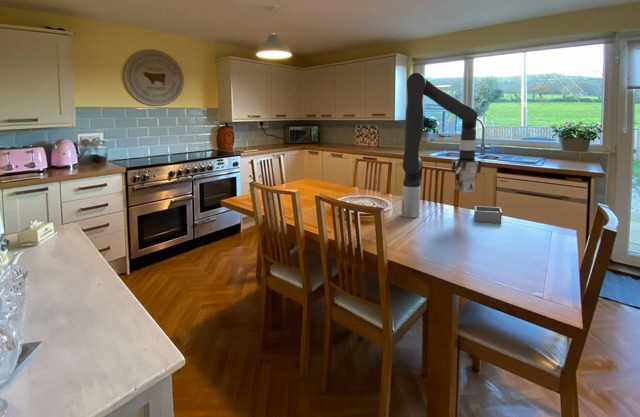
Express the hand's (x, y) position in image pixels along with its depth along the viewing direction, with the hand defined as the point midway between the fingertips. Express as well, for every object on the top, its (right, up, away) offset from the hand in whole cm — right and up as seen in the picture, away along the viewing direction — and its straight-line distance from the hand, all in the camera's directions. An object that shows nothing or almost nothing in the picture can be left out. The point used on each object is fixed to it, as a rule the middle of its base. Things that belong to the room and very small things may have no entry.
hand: (465, 180), depth 199 cm
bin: (+13, -21, +4) cm, 25 cm away
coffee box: (0, -5, +1) cm, 5 cm away
